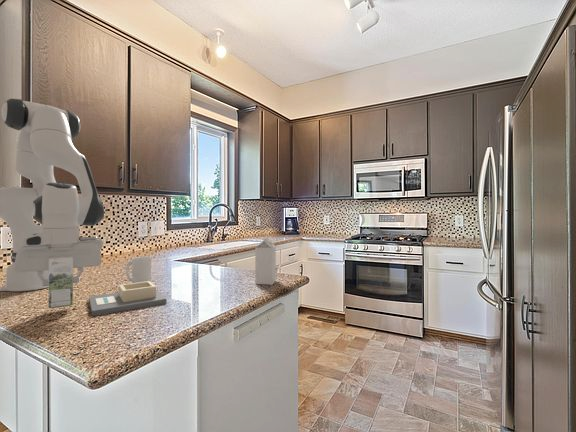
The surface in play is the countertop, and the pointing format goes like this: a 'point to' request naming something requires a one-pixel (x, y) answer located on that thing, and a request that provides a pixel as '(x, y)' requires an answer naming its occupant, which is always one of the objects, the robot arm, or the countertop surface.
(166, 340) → the countertop surface
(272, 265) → the milk carton
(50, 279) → the syrup box
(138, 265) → the mug
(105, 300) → the holder board
